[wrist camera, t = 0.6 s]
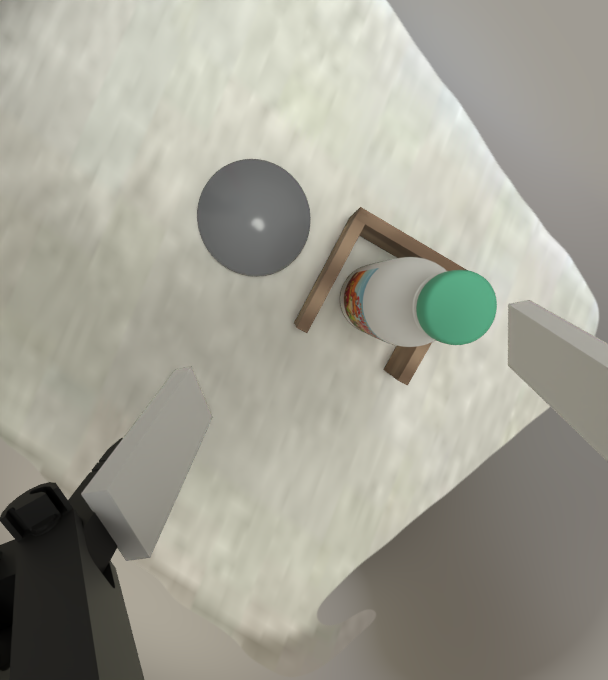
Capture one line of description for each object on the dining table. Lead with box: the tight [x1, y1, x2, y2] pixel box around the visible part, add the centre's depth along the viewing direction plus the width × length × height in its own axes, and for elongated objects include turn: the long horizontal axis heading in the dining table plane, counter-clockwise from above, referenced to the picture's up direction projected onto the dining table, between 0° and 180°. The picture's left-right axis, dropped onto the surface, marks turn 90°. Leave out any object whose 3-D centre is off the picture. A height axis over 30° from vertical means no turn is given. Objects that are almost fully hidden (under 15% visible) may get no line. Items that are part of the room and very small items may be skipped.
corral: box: [294, 207, 466, 385], centre depth 38 cm, size 13×13×5 cm
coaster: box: [197, 159, 310, 276], centre depth 38 cm, size 12×12×1 cm
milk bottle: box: [340, 257, 497, 347], centre depth 31 cm, size 8×8×20 cm
